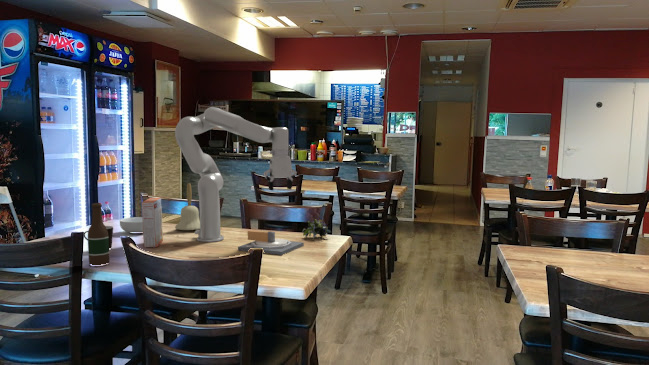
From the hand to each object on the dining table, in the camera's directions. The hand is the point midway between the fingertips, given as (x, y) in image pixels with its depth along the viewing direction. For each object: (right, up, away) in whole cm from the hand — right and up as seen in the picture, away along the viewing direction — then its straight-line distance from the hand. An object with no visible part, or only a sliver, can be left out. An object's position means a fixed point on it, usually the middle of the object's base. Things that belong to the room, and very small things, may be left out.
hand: (280, 189), depth 237 cm
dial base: (-3, -26, -14) cm, 30 cm away
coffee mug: (-77, -26, -18) cm, 84 cm away
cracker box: (-58, -25, -7) cm, 64 cm away
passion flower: (+17, -24, +6) cm, 30 cm away
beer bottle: (-67, -29, -43) cm, 84 cm away
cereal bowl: (-76, -23, +21) cm, 82 cm away
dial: (-5, -24, -14) cm, 28 cm away
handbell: (-50, -22, +28) cm, 62 cm away
